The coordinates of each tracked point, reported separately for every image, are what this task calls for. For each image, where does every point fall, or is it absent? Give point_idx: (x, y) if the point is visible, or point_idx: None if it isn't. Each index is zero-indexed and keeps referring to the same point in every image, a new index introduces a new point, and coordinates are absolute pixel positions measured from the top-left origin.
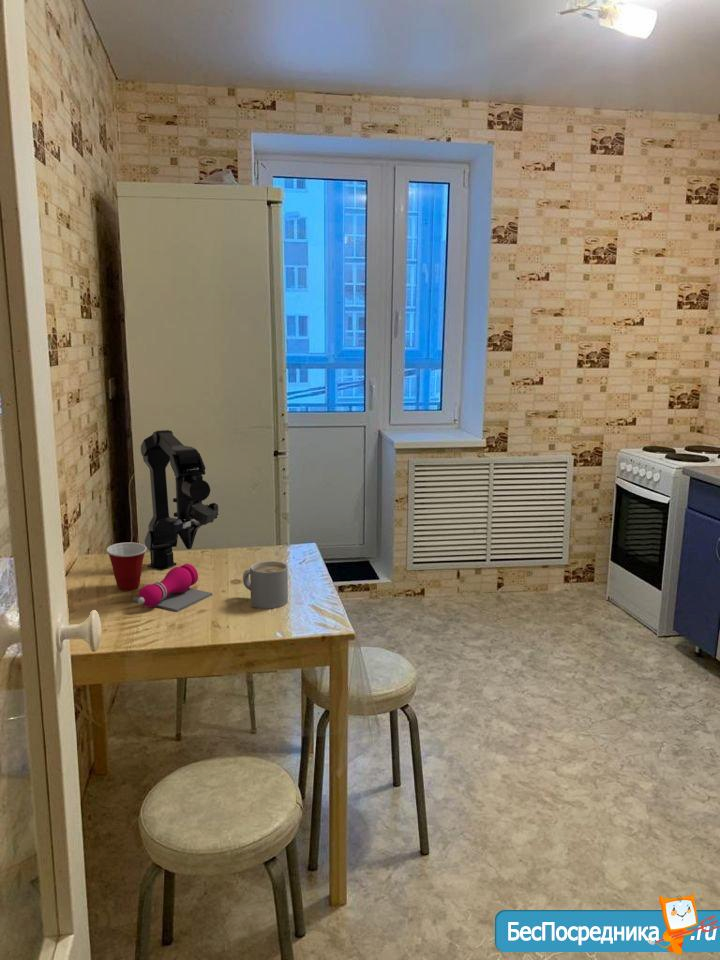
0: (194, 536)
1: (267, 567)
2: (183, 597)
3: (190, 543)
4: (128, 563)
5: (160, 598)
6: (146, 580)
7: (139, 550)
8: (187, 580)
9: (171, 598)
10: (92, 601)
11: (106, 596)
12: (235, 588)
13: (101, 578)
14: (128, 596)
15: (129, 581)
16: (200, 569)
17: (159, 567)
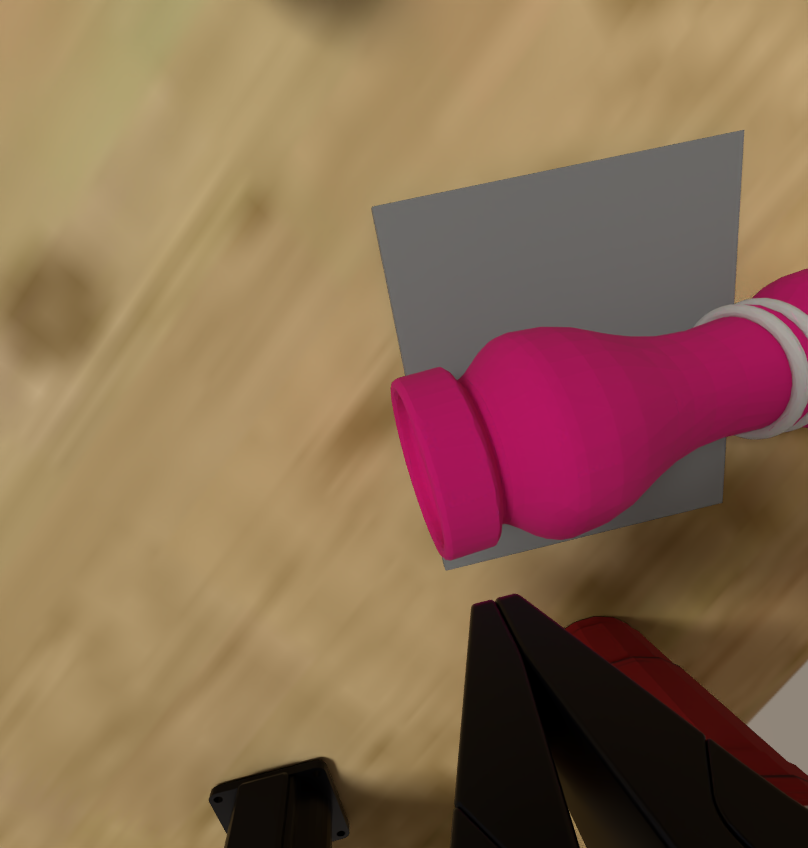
0: (486, 820)
1: None
2: (557, 300)
3: (551, 659)
4: (776, 757)
5: (800, 271)
6: None
7: None
8: (551, 331)
9: None
10: (794, 607)
11: (722, 622)
12: (144, 183)
13: None
14: (674, 560)
15: (657, 654)
16: (138, 664)
17: (321, 787)
